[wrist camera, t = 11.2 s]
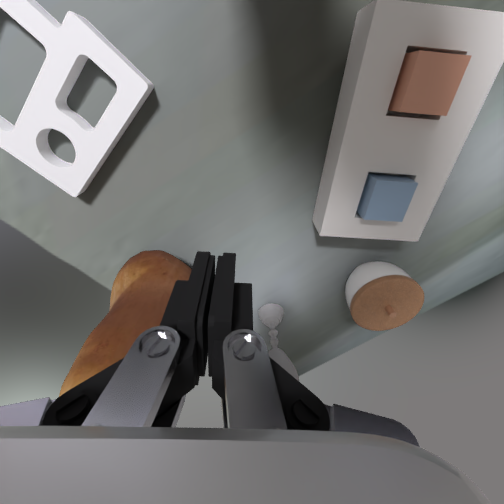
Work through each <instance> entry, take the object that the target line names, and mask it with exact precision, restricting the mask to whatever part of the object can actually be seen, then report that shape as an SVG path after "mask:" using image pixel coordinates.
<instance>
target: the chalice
mask: <svg viewBox="0 0 504 504" xmlns="http://www.w3.org/2000/svg"><path fill="white" fill-rule="evenodd" d="M283 315H284V309H283V308H282V307H281V306H280V305H278V304H274V303H270V304H266V305H264V306H262V307H261V308H260V309H259V311H258V316H259V318H260V319H261V321H262V322H263V324H264V325H266V326H267V327H270V331H269V333H268V334H269V335H270V336H271V340H270V344H271V345H272V349H271V350H270V351H269V352H268V355H269V357H270V358H272V359H273V360H274V361H275V362H276V363H278V364H279V365H280V366H281V367H282V368H284V369H285V370H286V371H287V372H288V373H289V374H291V375H292V376H293V377H294V378H295V379H297V380H298V381H299V377H298V373H297V370H296V369H295V367H294V365H293V363H292V361H291V360H290V359H289V358H288V356H287V355H286V354H285V352H284V351H283V350H282V349H279V348H278V347H277V346H278V343H279V340H278V339H277V338H276V336H277V335H278V331H277V330H276V329H275V327H276V326H278V325H279V324H280V323H281V321H282V318H283Z"/></svg>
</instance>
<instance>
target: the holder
mask: <svg viewBox="0 0 504 504" xmlns="http://www.w3.org/2000/svg"><path fill="white" fill-rule="evenodd" d="M0 7H1V8H2V9H3V10H4V11H5V12H6V13H8V14H9V15H10V16H11V17H12V18H13V19H14V20H16V21H17V22H18V23H19V24H20V25H21V26H22V27H24V28H25V29H26V30H27V31H28V32H29V33H30V34H32V35H33V36H34V37H35V38H36V39H37V40H39V41H40V42H41V43H42V44H43V46H44V47H45V49H46V52H47V57H46V59H45V61H44V63H43V66H42V68H41V70H40V72H39V74H38V76H37V79H36V81H35V83H34V85H33V87H32V89H31V92H30V94H29V96H28V98H27V100H26V102H25V104H24V107H23V109H22V111H21V113H20V115H19V117H18V120H17V122H16V124H15V126H14V125H13V124H11V123H10V122H9V121H7V120H6V119H5V118H3V117H2V116H0V147H1V148H3V149H4V150H6V151H7V152H8V153H10V154H11V155H13V156H14V157H16V158H17V159H19V160H20V161H22V162H23V163H25V164H26V165H27V166H29V167H30V168H32V169H33V170H35V171H36V172H38V173H39V174H41V175H42V176H44V177H45V178H46V179H48V180H49V181H51V182H52V183H54V184H55V185H57V186H58V187H60V188H61V189H62V190H64V191H65V192H67V193H68V194H70V195H71V196H73V197H76V196H78V195H80V194H81V193H83V192H84V191H85V190H86V189H87V187H88V186H89V184H90V183H91V181H92V180H93V178H94V177H95V175H96V174H97V173H98V171H99V170H100V168H101V167H102V165H103V164H104V162H105V161H106V159H107V158H108V156H109V155H110V153H111V152H112V150H113V149H114V147H115V146H116V144H117V143H118V141H119V140H120V138H121V137H122V135H123V134H124V132H125V131H126V129H127V128H128V126H129V125H130V123H131V122H132V120H133V119H134V117H135V116H136V114H137V113H138V111H139V110H140V108H141V107H142V105H143V104H144V102H145V101H146V99H147V98H148V96H149V95H150V93H151V92H152V90H153V88H154V85H153V83H152V82H151V81H150V80H149V79H148V78H146V77H145V76H144V75H143V74H142V73H141V72H140V71H139V70H138V69H137V68H136V67H135V66H134V65H133V64H132V63H131V62H130V61H129V60H128V59H127V58H126V57H125V56H124V55H123V54H122V53H121V52H120V51H119V50H118V49H117V48H116V47H115V46H114V45H112V44H111V43H110V42H109V41H108V40H107V39H106V38H105V37H104V36H103V35H102V34H101V33H100V32H99V31H98V30H97V29H96V28H95V27H94V26H93V25H92V24H91V23H90V22H89V21H88V20H87V19H86V18H85V17H83V16H80V15H78V14H76V13H74V12H71V11H68V12H67V14H66V16H65V18H64V20H63V22H62V25H61V24H60V23H59V22H58V21H57V20H56V19H55V18H54V17H53V16H52V15H50V14H49V13H48V12H47V11H46V10H45V9H44V8H43V7H42V6H41V5H40V4H39V3H38V2H36V1H35V0H0ZM88 58H90V59H91V60H92V61H93V62H94V63H96V64H97V65H98V66H99V67H100V68H101V69H102V70H103V71H104V72H105V73H106V74H108V75H109V76H110V77H111V78H112V79H113V80H114V81H115V83H116V85H117V92H116V94H115V96H114V97H113V99H112V100H111V102H110V104H109V105H108V107H107V109H106V110H105V112H104V114H103V115H102V117H101V119H100V120H99V122H98V123H97V125H96V127H95V128H93V127H92V126H91V125H90V124H89V123H88V122H87V121H86V120H85V119H84V118H83V117H81V116H80V115H79V114H77V113H76V112H74V111H72V110H71V109H70V108H69V107H68V105H67V97H68V96H69V94H70V92H71V90H72V88H73V86H74V84H75V82H76V80H77V79H78V77H79V75H80V73H81V71H82V69H83V67H84V65H85V64H86V62H87V60H88ZM51 129H55V130H58V131H60V132H62V133H63V134H64V135H66V136H67V137H68V138H69V139H70V141H71V142H72V144H73V146H74V148H75V151H76V158H75V161H74V163H68V162H65V161H63V160H61V159H60V158H58V157H57V156H56V155H55V154H54V153H53V151H52V150H51V148H50V146H49V144H48V134H49V131H50V130H51Z"/></svg>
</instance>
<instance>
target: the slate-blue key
mask: <svg viewBox="0 0 504 504" xmlns="http://www.w3.org/2000/svg"><path fill="white" fill-rule="evenodd" d="M417 185H418V183H417V182H415V181H414V180H412V179H410V178H408V177H406V176H400V175H386V174H373V173H368V175H367V179H366V182H365V185H364V188H363V191H362V195H361V198H360V201H359V204H358V208H357V212H358V214H359V215H360V216H361V217H362V218H363V219H364V220H379V221H395V222H402V221H403V219H404V216H405V214H406V212H407V209H408V207H409V204H410V202H411V200H412V197H413V195H414V192H415V190H416V188H417Z"/></svg>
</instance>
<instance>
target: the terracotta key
mask: <svg viewBox="0 0 504 504" xmlns="http://www.w3.org/2000/svg"><path fill="white" fill-rule="evenodd" d="M470 59H471V55H461V54H451V53H441V52H432V51H422V50H419V51H414V52H410V53H405V56H404V59H403V62H402V66H401V69H400V72H399V75H398V78H397V82H396V85H395V88H394V91H393V95H392V98H391V101H390V104H389V108H388V110H390V111H397V112H406V113H417V114H429V115H440V116H447V114H448V111H449V109H450V106H451V104H452V102H453V99H454V97H455V95H456V92H457V90H458V87H459V85H460V83H461V80H462V78H463V75H464V73H465V71H466V68H467V66H468V64H469V61H470Z"/></svg>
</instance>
